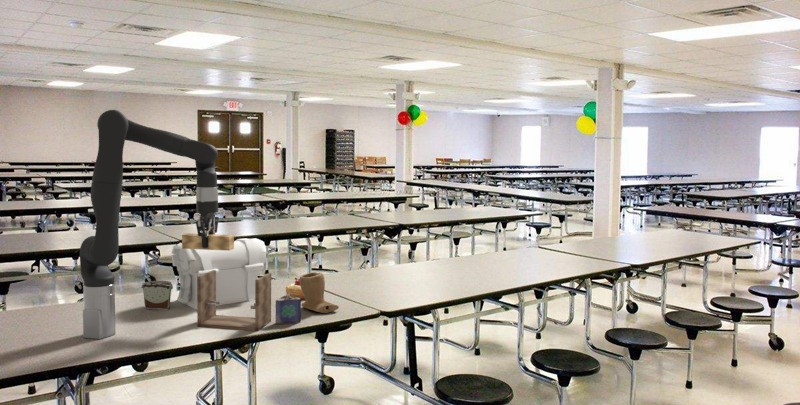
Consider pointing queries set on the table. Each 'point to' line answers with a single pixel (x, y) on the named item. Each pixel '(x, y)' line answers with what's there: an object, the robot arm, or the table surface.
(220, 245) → the shelf board
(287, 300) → the flask
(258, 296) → the shelf rack
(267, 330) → the table surface
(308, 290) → the tan ankle boot
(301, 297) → the pastry
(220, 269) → the chest
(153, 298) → the food container
